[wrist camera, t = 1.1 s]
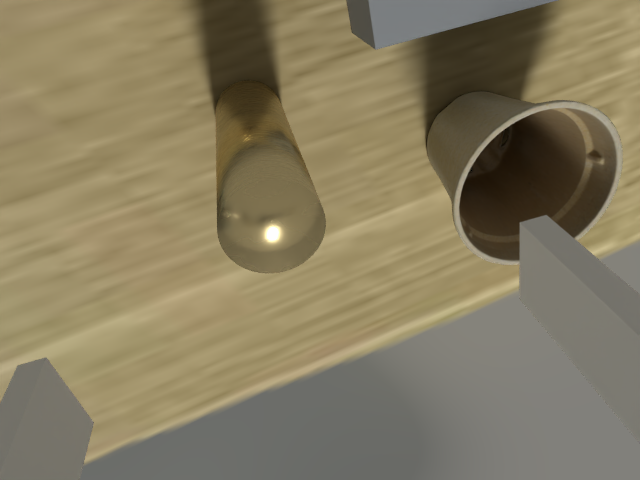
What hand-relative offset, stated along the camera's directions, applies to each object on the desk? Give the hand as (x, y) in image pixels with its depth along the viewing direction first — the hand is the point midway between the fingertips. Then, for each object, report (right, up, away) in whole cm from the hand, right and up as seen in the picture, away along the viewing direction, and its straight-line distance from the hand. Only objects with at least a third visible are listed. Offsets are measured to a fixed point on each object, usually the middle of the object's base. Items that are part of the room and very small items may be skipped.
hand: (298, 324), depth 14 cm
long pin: (-4, +10, +16) cm, 20 cm away
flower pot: (+11, +9, +20) cm, 24 cm away
